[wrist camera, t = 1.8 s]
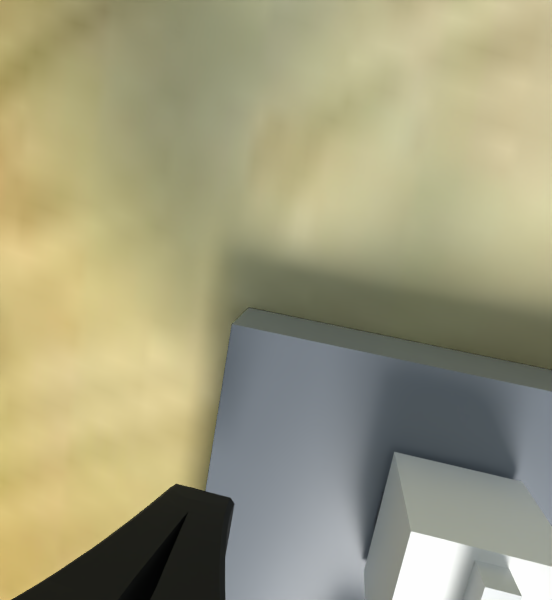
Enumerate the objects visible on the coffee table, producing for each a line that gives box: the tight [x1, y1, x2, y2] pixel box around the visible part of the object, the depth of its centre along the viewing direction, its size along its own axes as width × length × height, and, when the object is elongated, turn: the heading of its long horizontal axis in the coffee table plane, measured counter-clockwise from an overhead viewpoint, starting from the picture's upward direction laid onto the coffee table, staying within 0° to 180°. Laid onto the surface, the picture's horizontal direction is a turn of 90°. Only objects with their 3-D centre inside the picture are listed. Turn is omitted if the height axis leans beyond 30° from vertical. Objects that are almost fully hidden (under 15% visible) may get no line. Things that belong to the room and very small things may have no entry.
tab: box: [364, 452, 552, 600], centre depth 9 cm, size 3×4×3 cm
